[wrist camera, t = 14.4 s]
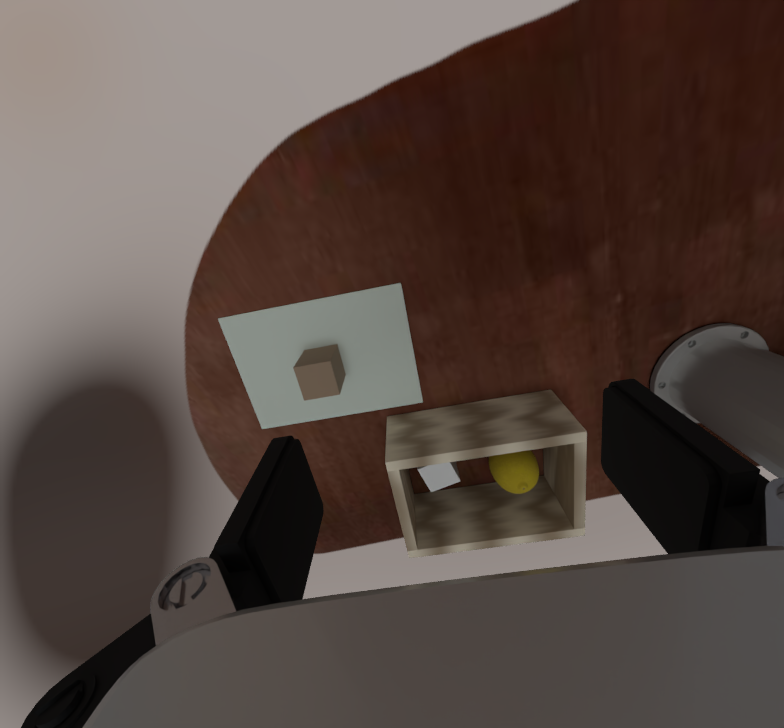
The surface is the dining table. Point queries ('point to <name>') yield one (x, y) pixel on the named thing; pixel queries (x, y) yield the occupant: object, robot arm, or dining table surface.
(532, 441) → the box
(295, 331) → the lid
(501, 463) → the lemon
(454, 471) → the grey cube
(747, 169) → the dining table surface
